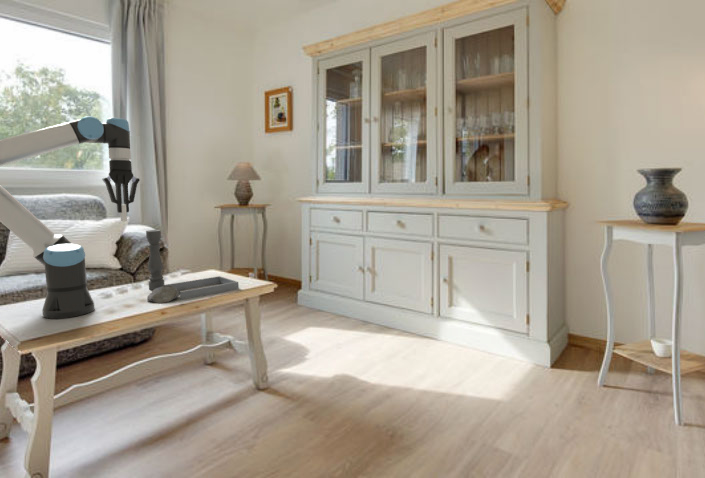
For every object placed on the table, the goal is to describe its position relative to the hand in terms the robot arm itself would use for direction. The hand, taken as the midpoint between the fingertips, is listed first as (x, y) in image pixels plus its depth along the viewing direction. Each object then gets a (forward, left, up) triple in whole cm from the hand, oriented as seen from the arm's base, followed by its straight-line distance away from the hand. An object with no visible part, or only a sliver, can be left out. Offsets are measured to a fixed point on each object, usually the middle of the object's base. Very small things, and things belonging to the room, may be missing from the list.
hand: (123, 220), depth 169 cm
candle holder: (+13, +5, -30) cm, 33 cm away
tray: (+25, -12, -30) cm, 41 cm away
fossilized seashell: (+9, -16, -31) cm, 35 cm away
